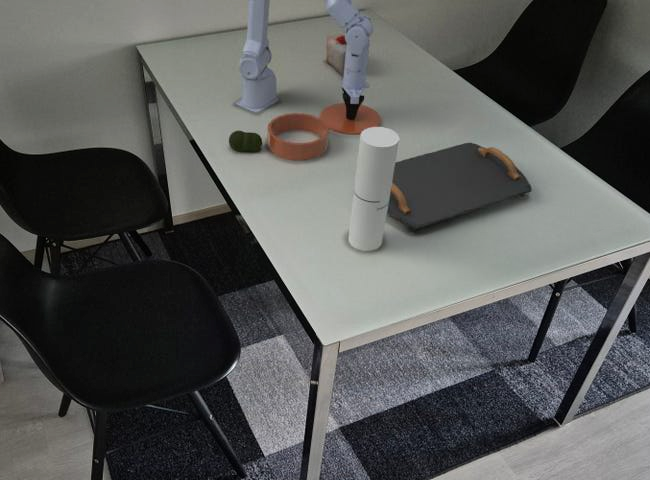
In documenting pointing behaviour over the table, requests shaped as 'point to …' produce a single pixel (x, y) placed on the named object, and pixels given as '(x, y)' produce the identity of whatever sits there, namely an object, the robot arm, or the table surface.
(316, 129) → the pot
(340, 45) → the food item
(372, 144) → the cylindrical container
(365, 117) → the lid
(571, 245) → the table surface
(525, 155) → the table surface
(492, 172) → the serving tray
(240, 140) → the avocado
